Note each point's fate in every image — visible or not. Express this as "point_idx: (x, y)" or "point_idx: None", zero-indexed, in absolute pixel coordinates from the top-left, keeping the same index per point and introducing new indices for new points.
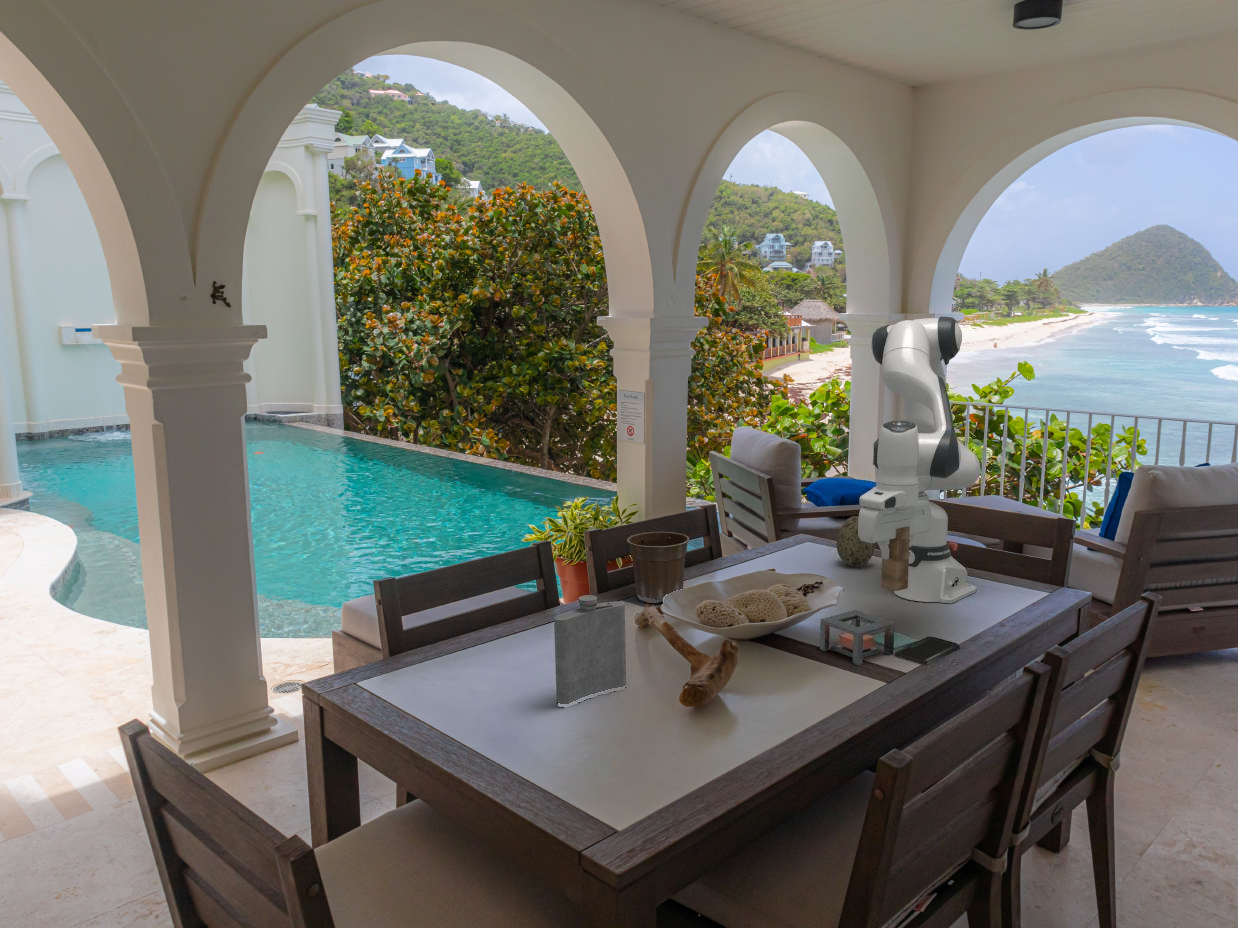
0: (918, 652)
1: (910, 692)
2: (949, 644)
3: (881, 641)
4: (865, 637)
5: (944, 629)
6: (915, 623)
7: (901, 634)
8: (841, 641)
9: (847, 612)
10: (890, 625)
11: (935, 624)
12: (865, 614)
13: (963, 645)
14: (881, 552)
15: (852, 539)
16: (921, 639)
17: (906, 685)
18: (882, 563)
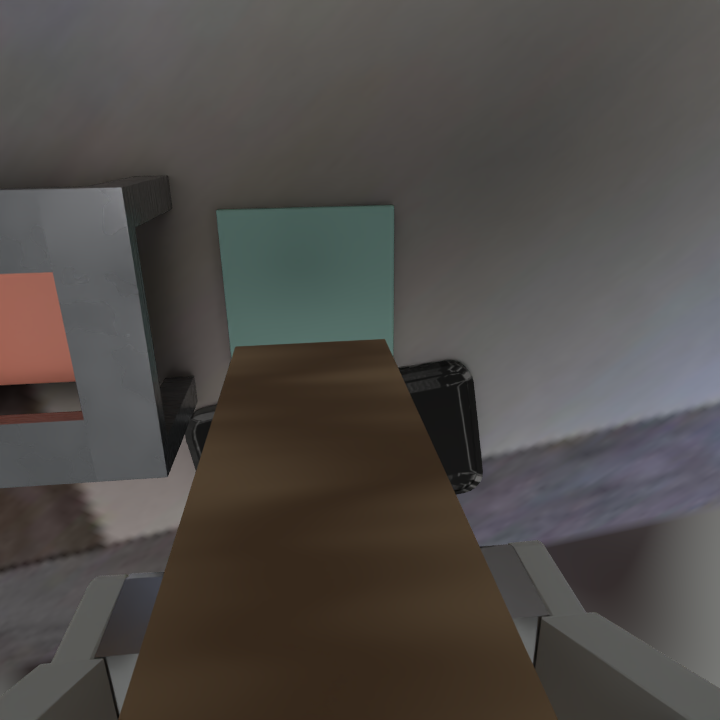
0: None
1: (4, 650)
2: (453, 460)
3: (240, 292)
4: (61, 361)
5: (614, 314)
6: (591, 184)
7: (390, 277)
8: None
9: (27, 199)
10: (136, 475)
11: (645, 248)
12: (116, 293)
13: (506, 469)
14: (67, 630)
15: None
16: (403, 375)
17: (29, 612)
18: (203, 454)
